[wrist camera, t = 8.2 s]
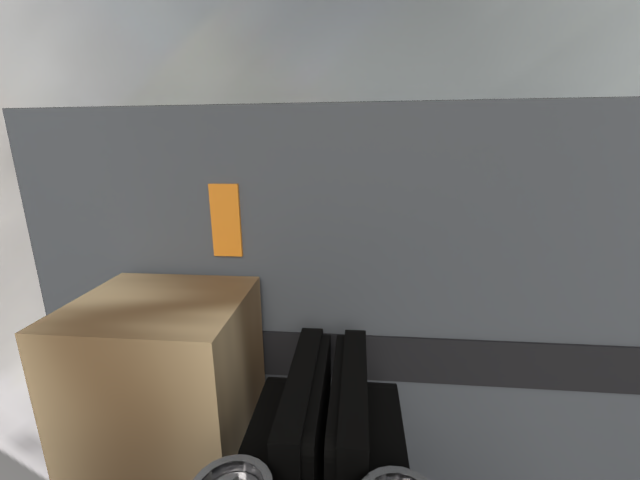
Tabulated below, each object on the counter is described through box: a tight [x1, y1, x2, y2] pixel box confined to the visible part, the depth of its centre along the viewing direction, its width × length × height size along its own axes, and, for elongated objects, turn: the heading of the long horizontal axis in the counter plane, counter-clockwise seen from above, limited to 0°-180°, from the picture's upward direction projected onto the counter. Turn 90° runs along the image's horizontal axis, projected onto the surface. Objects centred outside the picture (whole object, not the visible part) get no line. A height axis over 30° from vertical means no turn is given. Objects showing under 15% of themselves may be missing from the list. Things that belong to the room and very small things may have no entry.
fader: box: [15, 273, 265, 480], centre depth 10 cm, size 4×5×4 cm
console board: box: [2, 96, 640, 480], centre depth 12 cm, size 26×14×2 cm, turn 91°
